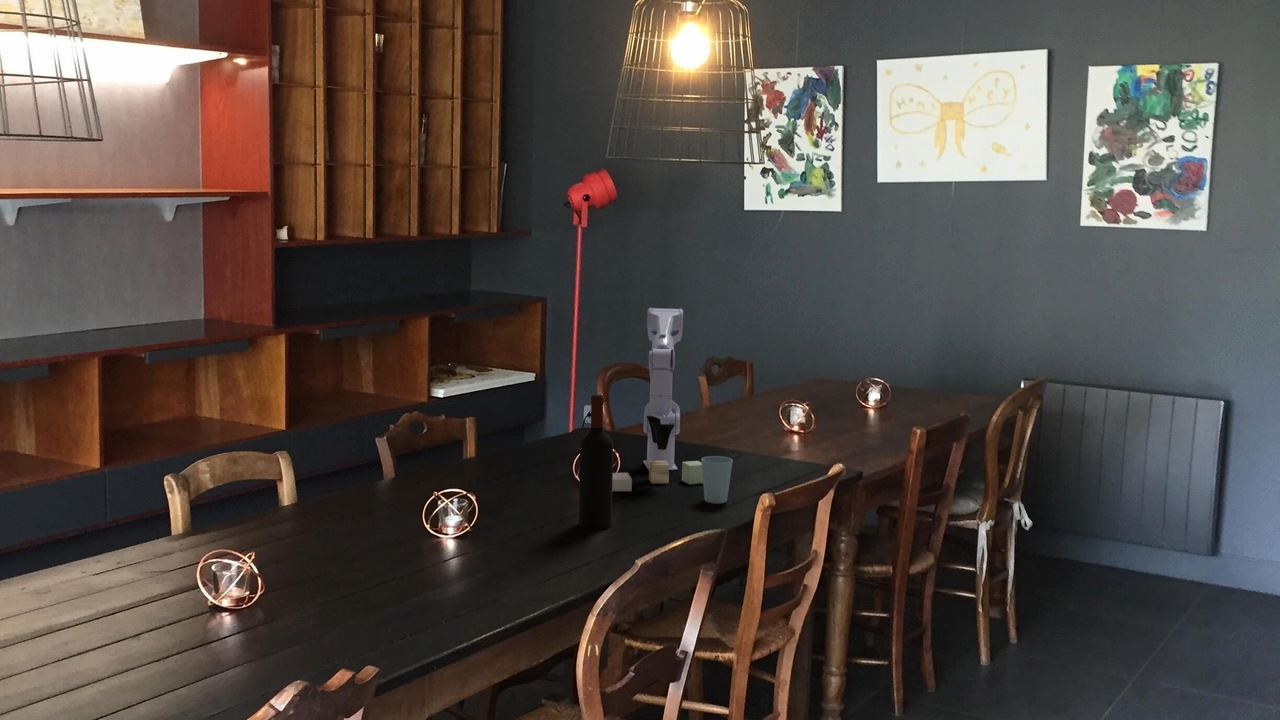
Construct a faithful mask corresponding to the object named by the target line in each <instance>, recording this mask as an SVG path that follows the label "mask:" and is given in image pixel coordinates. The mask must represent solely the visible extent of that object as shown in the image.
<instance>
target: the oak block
mask: <svg viewBox="0 0 1280 720" xmlns="http://www.w3.org/2000/svg"><path fill="white" fill-rule="evenodd" d="M669 477H670V470H669V464H668V462H667V461H649V470H648V480H649V482H650V483H651V485H652V484H669V483H670V481H669V480H670V478H669Z"/></svg>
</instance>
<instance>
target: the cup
mask: <svg viewBox="0 0 1280 720" xmlns="http://www.w3.org/2000/svg"><path fill="white" fill-rule="evenodd" d="M733 460H734V459H732V458H731V457H727V456H723V455H722V456H719V455H711V456H710V455H709V456H704V457H701V461H700V462H701V463H702V473H703V483H702V485H703V496H704V497H703V498H704V501H705V502H706V503H710V504H725V503H726V502H727V501H728V497H729V495H728V494H729V489H730V482H731V474H732V468H733V463H734V462H733Z"/></svg>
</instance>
